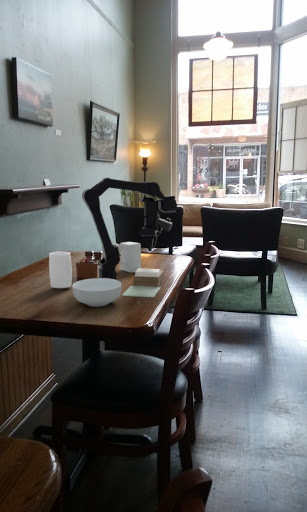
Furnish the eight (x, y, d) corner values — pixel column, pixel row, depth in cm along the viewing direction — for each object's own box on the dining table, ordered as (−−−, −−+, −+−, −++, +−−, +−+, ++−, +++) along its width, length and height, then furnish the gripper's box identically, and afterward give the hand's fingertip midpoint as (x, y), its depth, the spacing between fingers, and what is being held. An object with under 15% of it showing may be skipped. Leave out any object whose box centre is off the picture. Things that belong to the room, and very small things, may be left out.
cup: (50, 292, 162) (48, 255, 159) (49, 286, 170) (48, 251, 167) (73, 290, 164) (71, 254, 162) (71, 285, 172) (70, 250, 170)
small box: (141, 271, 198) (141, 243, 196) (130, 272, 194) (130, 244, 192) (131, 268, 205) (130, 241, 202) (120, 270, 201) (119, 242, 198)
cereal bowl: (63, 303, 147) (62, 283, 146) (101, 294, 159) (101, 275, 158) (92, 314, 135) (92, 292, 134) (131, 303, 147) (131, 283, 146)
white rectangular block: (157, 277, 168) (157, 272, 168) (135, 276, 170) (135, 271, 169) (160, 273, 174) (160, 269, 173) (138, 273, 176) (138, 268, 175)
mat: (153, 297, 154) (153, 296, 154) (121, 295, 156) (121, 295, 156) (160, 287, 168) (160, 287, 168) (131, 286, 170) (131, 285, 170)
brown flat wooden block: (158, 287, 168) (158, 277, 167) (133, 286, 170) (133, 276, 169) (164, 279, 181) (164, 270, 181) (141, 278, 183) (141, 269, 182)
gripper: (167, 214, 165) (167, 254, 168) (174, 211, 183) (173, 246, 186) (139, 214, 167) (139, 253, 170) (148, 210, 185) (148, 246, 188)
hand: (151, 249), depth 178 cm, fingers open, 6 cm apart
